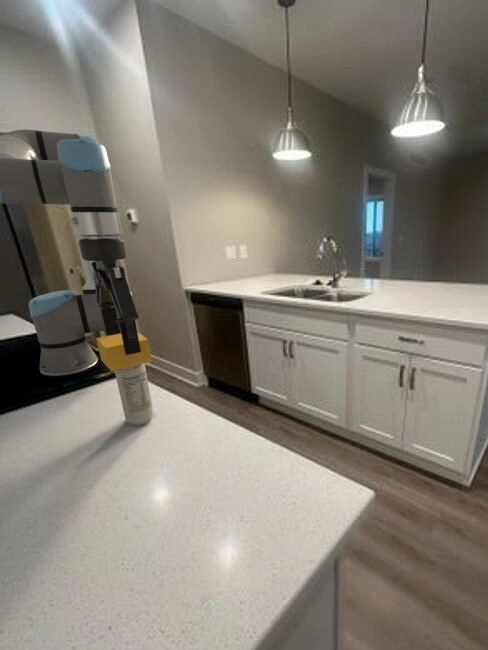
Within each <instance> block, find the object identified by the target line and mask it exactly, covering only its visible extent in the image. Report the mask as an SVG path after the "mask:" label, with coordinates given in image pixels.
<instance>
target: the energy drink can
mask: <svg viewBox="0 0 488 650" xmlns="http://www.w3.org/2000/svg"><path fill="white" fill-rule="evenodd" d="M114 374H115V375H114V376H115V379H116V384H117V388H118V393H119V396H120V401H121V402H120V403H121V406H122V410H123V415H124V419H125V422H127V423H129V425H131V426H143V425H146V424H148V423H149V422H151V420H152V419H153V417H154V415H155V412H154V408H153V402H152V396H151V390H150V386H149V385H150V384H149V381H148V380H149V379H148V375H147V371H146V365H145V363H143V364H139V365H135V366H131V367H127V368H123V369H119V370H115V371H114Z"/></svg>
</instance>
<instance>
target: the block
mask: <svg viewBox="0 0 488 650" xmlns="http://www.w3.org/2000/svg"><path fill="white" fill-rule="evenodd" d="M137 333H138V339H139V344H140V349H141V352H139V353H134V354H130V355H126V354H125V350H124V345H123V340H122V335H121V334H115V335H110V336H107V335H105V336H100V337H96V343H97V348H98V352H99V356H100V360H101V361H102V363H103V364H104V365H105V366H106V368H108V369H109V371H110V372H115V370H119V369H123V368H127V367H131V366H135V365H139V364H143V363H144V364H146V363H151V362H152V361H153V360H152V355H151V348H150V344H149V343H150V342H149V339H148V338H147V337H145V335H143V334H141V333H140V332H138V331H137Z"/></svg>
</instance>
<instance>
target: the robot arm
mask: <svg viewBox="0 0 488 650" xmlns="http://www.w3.org/2000/svg"><path fill="white" fill-rule="evenodd" d="M111 168H112V166H111V163H110V160H109V157H108V152H107V149H106V147H105V146H104V145H103V144H102V143H99V142H97V141H96V140H95V139H94V137H91V136H89V135H82V134H81V135H80V134H77V133H66V132H55V131H47V130H46V131H45V130H35V129H16V130H15V129H14V130H11V131H6V132H3V133H0V205H2V204H14V205H15V204H16V205H17V204H22V205H23V204H26V205H29V204H30V205H31V204H32V205H33V204H34V205H68V210H69V214H70V218H69V223H70V224H71V225H72V227H73V231H74V235H75V240H76V244H77V248H78V252H79V256H80V260H81V264H82V270H83V274H84V277H85V284H84V285H83V286H82V287H81V290H82V294H76V293H75V291H74V290H72V289H70V290H69V289H66V290H58V291H53V292H52V291H51V292H47V293H44V294H40V295H38V296H36V297H33V298H32V299H30V300H29V302H28V309H29V314H30V318H31V320H32V323H33V327H34V329H35V333H36V336H37V340H38V343H39V346H40V358H39V372H40V375H41V376H42V377H44V378H49V379H63V378H69V377H75V376H79V375H82V374H86V373H88V372H90V371H92V370H93V369H95V368H97V367H98V365H99V359H98V356H97V354H96V353H95V352H94V350H93V349H92V347H91V346H90V344H89V343H88V341H87V339H86V335H85V334H90V333H98V332H105V334H106V336H110V335H115V334H121V335H122V340H123V345H124V350H125V354H126V355H130V354H134V353H139V352H141V349H140V344H139V339H138V333H139V332H138V329H137V323H136V320H138V319H139V315H138V313H137V309H136V305H135V302H134V299H133V293H132V291H131V289H130V286H129V283H128V280H127V276H126V273H125V268H124V266H118V263H117V261H118V260H124V259H126V258H127V251H126V246H125V241H124V239H123V238H121V236H122V235H123V229H122V222H121V217H120V213H119V209H118V206H117V200H116V194H115V188H114V182H113V176H112V171H111ZM137 332H138V333H137ZM97 361H98V362H97ZM96 363H97V364H96ZM95 364H96V365H95ZM92 366H93V367H92ZM90 367H91V368H90ZM88 368H89V369H88Z"/></svg>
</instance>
